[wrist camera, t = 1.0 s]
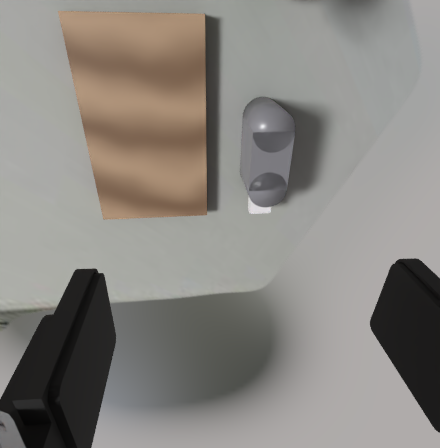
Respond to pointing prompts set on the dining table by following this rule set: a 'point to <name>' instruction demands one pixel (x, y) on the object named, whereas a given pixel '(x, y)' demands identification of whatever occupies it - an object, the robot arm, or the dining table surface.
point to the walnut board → (142, 109)
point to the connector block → (266, 153)
